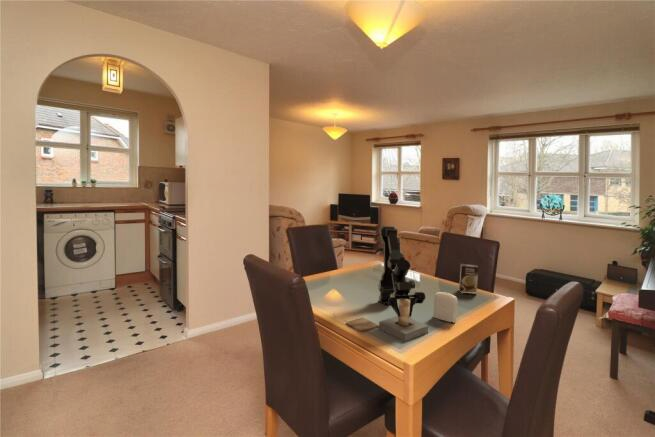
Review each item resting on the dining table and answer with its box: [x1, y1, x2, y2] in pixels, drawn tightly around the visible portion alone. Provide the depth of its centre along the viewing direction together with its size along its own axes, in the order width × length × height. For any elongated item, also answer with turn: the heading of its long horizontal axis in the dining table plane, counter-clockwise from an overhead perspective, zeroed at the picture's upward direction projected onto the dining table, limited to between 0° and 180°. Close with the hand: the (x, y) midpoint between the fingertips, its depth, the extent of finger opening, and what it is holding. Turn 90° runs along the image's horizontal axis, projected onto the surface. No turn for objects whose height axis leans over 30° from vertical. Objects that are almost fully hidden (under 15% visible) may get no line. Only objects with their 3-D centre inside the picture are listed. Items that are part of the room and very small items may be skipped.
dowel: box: [398, 298, 410, 327], centre depth 138 cm, size 4×4×13 cm
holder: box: [378, 315, 429, 342], centre depth 139 cm, size 14×14×3 cm
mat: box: [345, 317, 379, 333], centre depth 143 cm, size 10×10×1 cm
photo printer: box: [433, 291, 458, 323], centre depth 152 cm, size 10×4×12 cm, turn 47°
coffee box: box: [458, 263, 479, 293], centre depth 193 cm, size 9×6×16 cm
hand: (404, 316), depth 137 cm, fingers closed on dowel, 4 cm apart
